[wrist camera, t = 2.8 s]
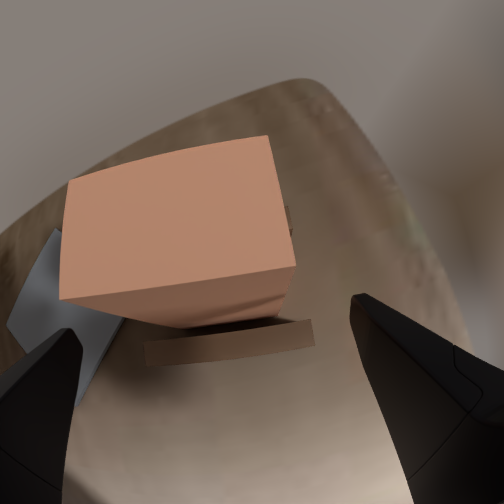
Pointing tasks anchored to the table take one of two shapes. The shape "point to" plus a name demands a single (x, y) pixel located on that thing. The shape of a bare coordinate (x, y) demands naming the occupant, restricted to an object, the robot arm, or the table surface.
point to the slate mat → (59, 314)
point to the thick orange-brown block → (180, 237)
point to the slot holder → (231, 341)
